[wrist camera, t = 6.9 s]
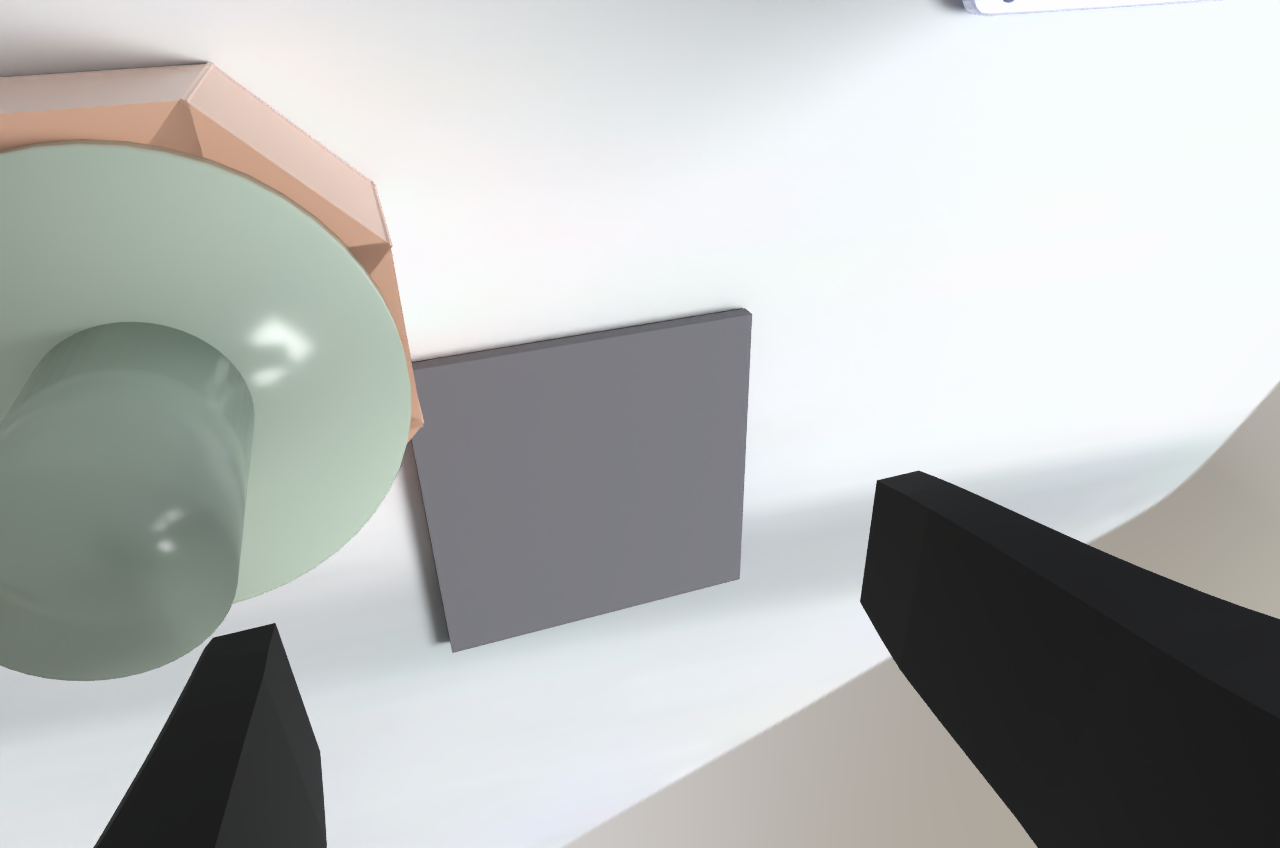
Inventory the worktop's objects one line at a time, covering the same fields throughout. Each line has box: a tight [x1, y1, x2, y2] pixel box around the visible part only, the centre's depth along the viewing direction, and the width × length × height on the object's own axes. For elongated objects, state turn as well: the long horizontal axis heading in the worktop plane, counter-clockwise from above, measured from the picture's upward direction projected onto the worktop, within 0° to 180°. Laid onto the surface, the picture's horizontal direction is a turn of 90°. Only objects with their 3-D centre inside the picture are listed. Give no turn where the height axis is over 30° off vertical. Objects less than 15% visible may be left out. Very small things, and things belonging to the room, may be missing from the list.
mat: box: [412, 308, 752, 653], centre depth 22 cm, size 8×8×1 cm
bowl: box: [0, 62, 424, 443], centre depth 15 cm, size 8×8×4 cm
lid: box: [0, 139, 411, 681], centre depth 11 cm, size 8×8×5 cm
